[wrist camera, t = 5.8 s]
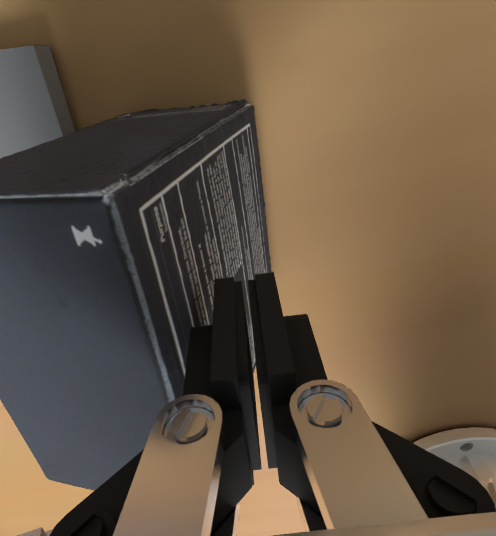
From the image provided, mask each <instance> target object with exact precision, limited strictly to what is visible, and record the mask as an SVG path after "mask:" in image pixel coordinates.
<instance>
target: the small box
mask: <svg viewBox="0 0 496 536" xmlns="http://www.w3.org/2000/svg"><path fill="white" fill-rule="evenodd" d="M270 272H271V264H270V254H269V245H268V235H267V225H266V216H265V202H264V195H263V186H262V177H261V168H260V158H259V150H258V141H257V134H256V124H255V116H254V106H253V105H252V104H251V103H250V102H248V101H246V100H245V99H243V100H241V101H238V100H236V101H232V102H229V103H226V104H223V105H218V104H212V105H210V106H205V105H201V106H199V107H193V106H192V107H190V108H180V109H178V108H172V109H168V110H157V109H151V110H144V111H139V112H134V113H132V114H123V115H120V116H117V117H115V118H113V119H109V120H107V121H104V122H101V123H99V124H96V125H94V126H91V127H88V128H85V129H83V130H79V131H76V132H74V133H71V134H68V135H65V136H62V137H59V138H57V139H54V140H52V141H49V142H45V143H42V144H40V145H37V146H34V147H32V148H29V149H27V150H23V151H20V152H17V153H14V154H12V155H9V156H5V157H3V158H1V159H0V400H1V401H2V403H3V405H4V406H5V408H6V410H7V411H8V413H9V415H10V416H11V418H12V420H13V421H14V423H15V425H16V427H17V428H18V430H19V432H20V433H21V435H22V437H23V438H24V440H25V442H26V443H27V445H28V447H29V448H30V450H31V452H32V453H33V455H34V457H35V458H36V460H37V462H38V463H39V465H40V467H41V469H42V470H43V472H44V474H45V476H46V478H48V479H49V480H53V481H57V482H61V483H65V484H69V485H73V486H77V487H82V488H86V489H91V490H96V489H97V488H98V487H100V486H101V485H102V484H103V483H104V482H106V481H107V480H108V479H109V478H110V477H111V476H113V475H114V474H115V473H116V472H117V471H119V470H120V469H121V468H122V467H123V466H124V465H126V464H127V463H128V462H129V461H130V460H132V459H133V458H134V457H135V456H136V455H137V454H139V453H140V452H141V451H142V450H143V449H144V448H145V445H146V443H147V440H148V437H149V434H150V432H151V429H152V426H153V423H154V421H155V419H156V417H157V415H158V413H159V411H160V410H161V409H162V408H163V407H164V406H165V405H166V404H168V403H169V402H171V401H172V400H174V399H176V398H179V397H181V396H183V387H184V379H185V371H186V362H187V354H188V346H189V338H190V330H191V328H192V327H197V326H206V325H212V324H213V301H214V280H215V279H218V278H227V277H234V281H235V282H236V281H242V287H243V295H244V302H245V310H246V318H247V326H248V333H249V341H250V349H251V357H252V366H253V372H254V369H255V366H256V359H255V349H254V339H253V329H252V319H251V309H250V299H249V289H248V280H253V279H255V274H261V273H270Z"/></svg>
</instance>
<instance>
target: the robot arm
mask: <svg viewBox="0 0 496 536" xmlns="http://www.w3.org/2000/svg"><path fill="white" fill-rule="evenodd" d="M248 289H249V299H250V309H251V319H252V329H253V339H254V349H255V359H256V369H257V378H258V387H259V395H260V403H261V411H262V419H263V427H264V435H265V443H266V451H267V459H268V467H269V468H278V475H279V482H280V484H281V485H282V486H284V487H285V488H286V489H288V490H289V491H290V492H291V493H293V494H294V495H295V496H296V498H297V504H298V508H299V511H300V514H301V517H302V521H303V524H304V527H305V530H306V532H300V533H291V534H282V535H273V536H496V429H492V428H479V427H470V428H458V429H452V430H448V431H443V432H439V433H436V434H433V435H430V436H427V437H424V438H422V439H419V440H417V441H415V442H413V443H412V442H410V441H408V440H406V439H404V438H402V437H400V436H399V435H397V434H395V433H393V432H391V431H389V430H387V429H385V428H384V427H382V426H380V425H378V424H376V423H374V422H372V421H371V420H370V418H369V416H368V415H367V413H366V411H365V410H364V408H363V406H362V404H361V403H360V401H359V399H358V398H357V396H356V395H355V394H354V393H353V391H352V390H351V389H349V388H348V387H346V386H345V385H343V384H341V383H338V382H335V381H332V380H327V376H326V373H325V370H324V367H323V364H322V360H321V357H320V354H319V351H318V347H317V344H316V341H315V338H314V334H313V331H312V328H311V325H310V321H309V318H308V316H307V314H302V315H293V316H284V317H283V313H282V309H281V304H280V300H279V295H278V290H277V286H276V281H275V277H274V272H270V273H261V274H255V279H253V280H248ZM260 469H261V458H260V446H259V435H258V423H257V412H256V401H255V389H254V378H253V366H252V357H251V349H250V341H249V333H248V326H247V318H246V310H245V302H244V295H243V287H242V281H236V282H235V281H234V277H227V278H218V279H215V280H214V301H213V324H212V325H206V326H197V327H192V328H191V330H190V338H189V346H188V354H187V362H186V371H185V379H184V387H183V396H181V397H179V398H176V399H174V400H172V401H171V402H169V403H168V404H166V405H165V406H164V407H163V408H162V409H161V410H160V411H159V413H158V415H157V417H156V419H155V421H154V423H153V426H152V429H151V432H150V434H149V437H148V440H147V443H146V445H145V448H144V449H143V450H142V451H141V452H140V453H139V454H137V455H136V456H135V457H134V458H133V459H132V460H130V461H129V462H128V463H127V464H126V465H124V466H123V467H122V468H121V469H120V470H119V471H117V472H116V473H115V474H114V475H113V476H111V477H110V478H109V479H108V480H107V481H106V482H104V483H103V484H102V485H101V486H100V487H98V488H97V489H96V490H95V491H94V492H93V493H91V494H90V495H89V496H88V497H87V498H86V499H84V500H83V501H82V502H81V503H80V504H78V505H77V506H76V507H75V508H74V509H73V510H71V511H70V512H69V513H68V514H67V515H66V516H65V517H64V518H63V519H62V520H61V521H60V522H59V523H58V524H57V525H56V526H55V527H54V529H52V530H49V531H46V532H44V530H43V528H42V527H41V528H38V529H35V530H32V531H29V532H26V533H23V534H20V535H17V536H237V534H238V525H239V516H240V502H239V501H240V500H241V499H242V498H243V497H244V496H245V494H246V493H247V492H248V491H249V490H250V489H251V488H252V485H254V478H253V470H260Z"/></svg>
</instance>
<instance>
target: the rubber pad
mask: <svg viewBox="0 0 496 536" xmlns="http://www.w3.org/2000/svg"><path fill="white" fill-rule="evenodd" d="M74 132H76V130H75V127H74V124H73V121H72V118H71V114H70V111H69V108H68V105H67V101H66V98H65V95H64V92H63V89H62V85H61V82H60V79H59V76H58V72H57V69H56V66H55V63H54V60H53V56H52V53H51V50H50V47H49V46H48V45H30V46H23V47H15V48H8V49H0V159H1V158H3V157H5V156H9V155H12V154H14V153H17V152H20V151H23V150H27V149H29V148H32V147H34V146H37V145H40V144H42V143H45V142H49V141H52V140H54V139H57V138H59V137H62V136H65V135H68V134H71V133H74Z"/></svg>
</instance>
